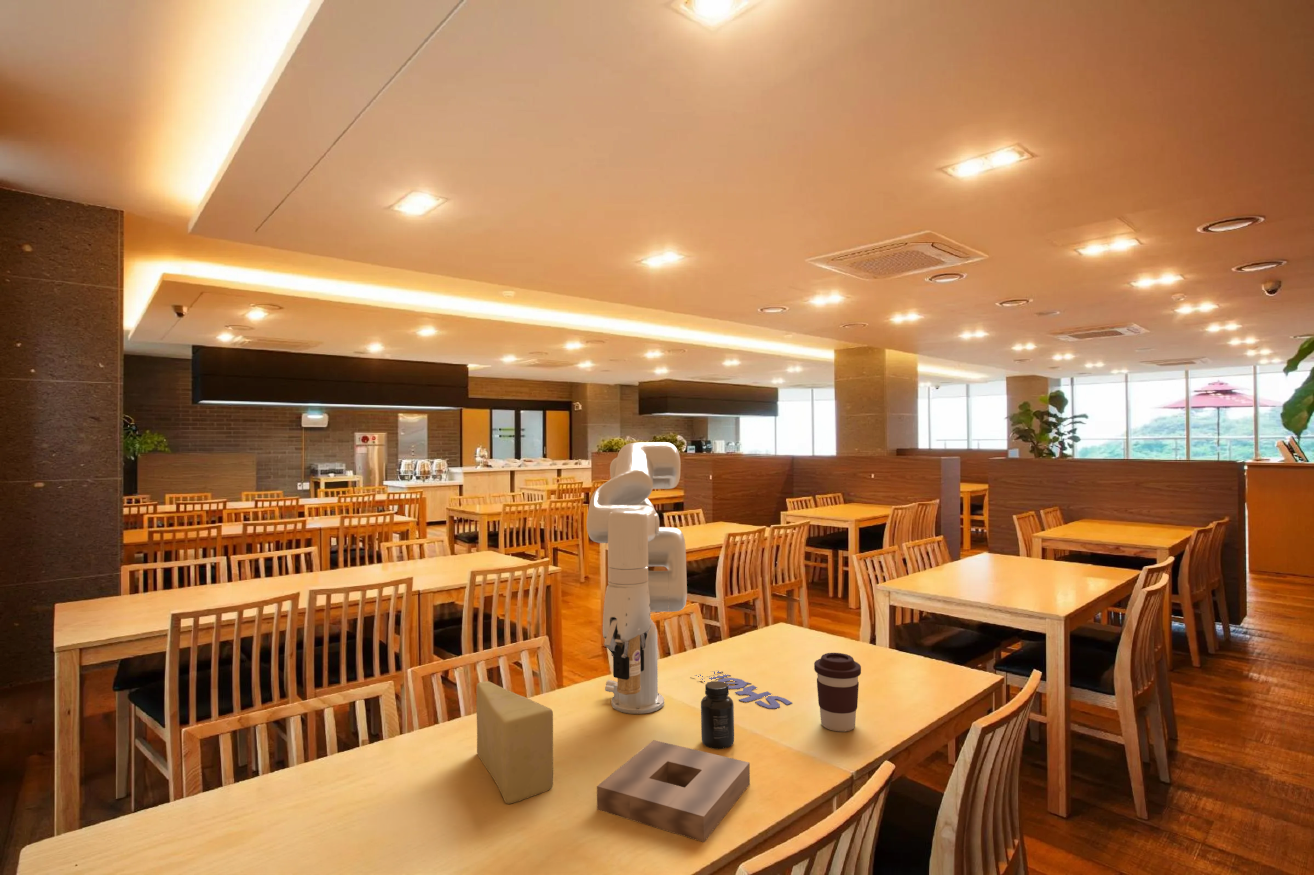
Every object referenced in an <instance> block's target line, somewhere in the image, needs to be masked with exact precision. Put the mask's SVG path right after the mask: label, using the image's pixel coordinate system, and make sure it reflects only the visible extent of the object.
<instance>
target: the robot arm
mask: <svg viewBox="0 0 1314 875" xmlns="http://www.w3.org/2000/svg"><path fill="white" fill-rule="evenodd" d="M681 462H682V461H681V456H680V453H679V450H678V448H677V447H676V446H675V445H674V444H673V443H671V442H666V441H663V442H661V441H655V442H654V441H653V442H651V441H650V442H649V441H647V442H645V441H643V442H640V441H639V442H630V443H627V444H625V445H623V446H622V447H621V448H620V450H619V451H618V453H617V457H615V458H613V459H612V461H611V462H610V465H609V475H610V479H609V480H607V481H606V482H604V483H602V485H600V486H599V487H598V488H596V489H595V490H594V491H593V494H592V496H591V497H590V501H589V506H588V510H587V517H586V532H587V534H588V536H589V539H590V540H591V541H592V542H595V543H598V544H607V584H608V585H607V586H606V588H605V589H606V590H605V595H604V601H603V602H604V604H603V615H602V617H603V618H602V635H603V638H604V639H605V640H604V643H603V644H604V647H606V648H607V649H608V650H609V652H610V656H612V665H613V667H612V668H613V669H612V670H613V671H612V672H613V674H612V676H613V678H615V679H618V678H620V679H625V680H627V679H629V657H627V652H628V643H629V640H631V639H633V638H634V637H636V636H637V635H640V663H641V672H640V686H641V690H640V692H638V693H636V694H629V695H624V694H621V693H619V692H618V691H617V687H618V681H616V680H611V679H608V680H606V683H605V687H604V690H605V692H609V693H613V697H612V698H611V702H610V703H611V704H610V705H611V706H612V709H614V710H615V711H618V712H621V713H625V714H628V715H629V714H631V715H643V714H649V713H653V712H656V711H658V710H661V708H663V707H664V706H665V697H664V696H663V695H662V694H660V693H659V692H658V690H659V689H658V682H659V679H658V676H659V673H658V670H659V669H658V668H659V666H658V630H657V626H656V624H655V623H654V621H653V620H652V619H651V613H667V612H669V613H670V612H680V611H682V610H683V609H684V608H685V607H686V604H687V598H688V586H687V584H688V581H687V580H688V579H687V550H686V549H687V548H686V540H685V537H684V536H685V535H684V534H683V532H682V530H680V529H679V528H677V527H672V526H660V517H659V513H657V511H656V510H655V507H654V504H653V503H652V502H651V500H650V499H649V497H650V495H651V494H652V491H653V490H663V489H664V490H667V489H674V488H676V487H677V486H678V485H679V483H680V478H681V466H682V465H681ZM649 567H664V568H666V569H667V570H649ZM639 628H640V630H638V629H639ZM618 636H620V637H621V638H620V639H618ZM618 643H623V645H622V648H621V647H620V646H619V645H618Z"/></svg>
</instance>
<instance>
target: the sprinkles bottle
mask: <svg viewBox="0 0 1314 875" xmlns="http://www.w3.org/2000/svg"><path fill="white" fill-rule="evenodd" d="M638 630H640V628H639V629H638ZM620 638H621V637H620V636H618V639H620ZM618 645H619V646H620V647H621V648H622V645H623V643H618ZM627 657H629V679H627V680H625V679H620V678H617V682H618V687H617V691H618V692H619V693H621V694H624V695H629V694H636V693H638V692H640V690H641V686H640V672H641V663H640V635H637V636H636V637H634V638H633V639H631V640H629V643H628V652H627Z"/></svg>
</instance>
